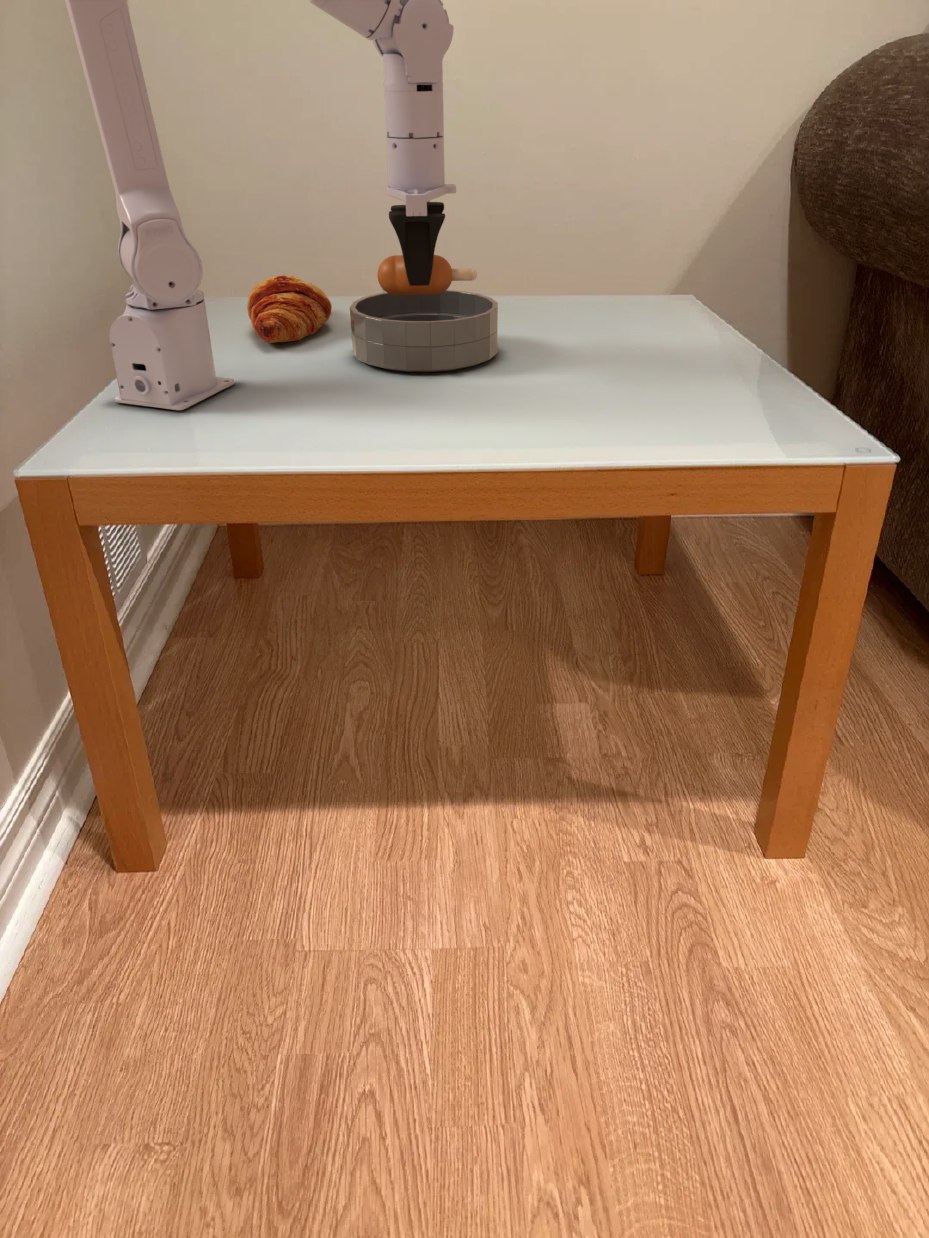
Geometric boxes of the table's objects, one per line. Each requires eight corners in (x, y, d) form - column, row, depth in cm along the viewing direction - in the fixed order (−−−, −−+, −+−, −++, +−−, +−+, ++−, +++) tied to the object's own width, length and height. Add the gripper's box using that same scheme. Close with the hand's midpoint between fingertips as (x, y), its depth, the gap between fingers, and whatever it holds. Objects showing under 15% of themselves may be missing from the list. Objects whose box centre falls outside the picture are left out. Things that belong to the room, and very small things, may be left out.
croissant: (288, 335, 125) (255, 281, 121) (351, 299, 122) (319, 243, 119) (252, 378, 106) (211, 315, 103) (325, 337, 104) (286, 271, 100)
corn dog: (377, 299, 97) (375, 259, 95) (379, 291, 100) (377, 252, 98) (478, 298, 97) (478, 258, 95) (476, 290, 100) (476, 251, 98)
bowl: (467, 381, 95) (467, 327, 92) (328, 367, 100) (324, 315, 97) (515, 343, 108) (516, 295, 105) (390, 332, 113) (388, 285, 110)
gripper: (457, 141, 85) (459, 294, 92) (453, 131, 97) (455, 267, 104) (381, 142, 84) (388, 295, 91) (386, 132, 97) (392, 268, 104)
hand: (419, 280), depth 98 cm, fingers closed on corn dog, 4 cm apart
